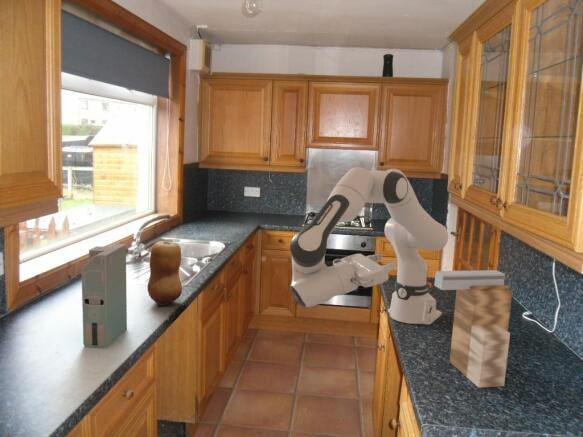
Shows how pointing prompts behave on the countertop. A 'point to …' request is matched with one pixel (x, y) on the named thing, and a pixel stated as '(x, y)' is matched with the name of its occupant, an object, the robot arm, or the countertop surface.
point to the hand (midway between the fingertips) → (388, 259)
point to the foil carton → (468, 279)
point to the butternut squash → (165, 272)
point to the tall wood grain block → (481, 334)
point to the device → (104, 296)
